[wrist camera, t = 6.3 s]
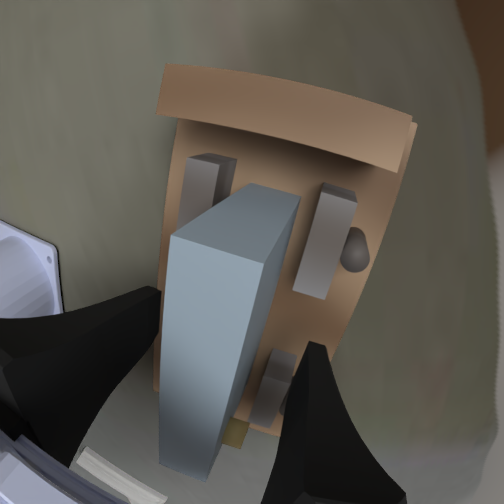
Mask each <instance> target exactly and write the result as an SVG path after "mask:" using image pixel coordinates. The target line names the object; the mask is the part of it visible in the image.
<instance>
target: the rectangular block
mask: <svg viewBox="0 0 504 504" xmlns="http://www.w3.org/2000/svg"><path fill="white" fill-rule="evenodd" d="M300 200H301V196H299V195H295V194H292V193H288V192H284V191H281V190H277V189H274V188H270V187H266V186H263V185H259V184H255V183H250V184H248V185H246V186H245V187H243V188H242V189H240V190H238V191H237V192H235V193H234V194H232V195H231V196H229V197H227V198H226V199H224V200H223V201H221V202H220V203H218V204H217V205H215V206H213V207H212V208H210V209H209V210H207V211H206V212H204V213H203V214H201V215H200V216H198V217H197V218H195V219H194V220H192V221H191V222H189V223H188V224H186V225H185V226H183V227H182V228H180V229H179V230H177V231H176V232H174V233H173V234H171V237H170V246H169V255H168V265H167V275H166V286H165V298H164V311H163V325H162V341H161V361H160V390H159V464H161V465H164V466H166V467H168V468H171V469H173V470H175V471H178V472H180V473H183V474H185V475H188V476H190V477H193V478H195V479H198V480H201V481H203V482H206V480H207V478H208V475H209V473H210V471H211V469H212V466H213V464H214V462H215V459H216V457H217V455H218V452H219V450H220V448H221V446H222V443H223V444H226V445H229V446H232V447H235V448H238V449H241V446H242V443H243V441H244V438H245V436H246V433H247V430H248V427H249V425H250V423H249V422H245V421H242V420H239V419H237V418H234V415H235V412H236V410H237V407H238V405H239V402H240V400H241V398H242V395H243V393H244V390H245V388H246V385H247V383H248V380H249V377H250V373H251V370H252V367H253V364H254V361H255V357H256V354H257V351H258V347H259V344H260V341H261V338H262V334H263V331H264V328H265V324H266V321H267V318H268V314H269V311H270V307H271V304H272V301H273V297H274V294H275V290H276V287H277V283H278V280H279V276H280V273H281V269H282V266H283V262H284V259H285V255H286V251H287V248H288V244H289V241H290V237H291V233H292V230H293V226H294V222H295V219H296V215H297V211H298V208H299V204H300Z"/></svg>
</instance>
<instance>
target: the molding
mask: <svg viewBox="0 0 504 504" xmlns="http://www.w3.org/2000/svg"><path fill="white" fill-rule="evenodd" d="M76 463H77V464H79V465H80V466H82V467H83V468H84V469H86V470H87V471H89V472H90V473H91V474H93V475H94V476H96V477H97V478H99V479H100V480H102V481H103V482H105V483H106V484H108V485H109V486H111V487H112V488H114V489H115V490H117V491H119V492H120V493H122V494H124V495H125V496H127V498H128V499H129V501H130V503H131V504H163V503H164V502H166V500H167V498H168V497H166V496H164V495H162V494H160V493H158V492H157V491H155V490H153V489H151V488H150V487H148V486H146V485H144V484H143V483H141V482H139V481H138V480H136V479H135V478H133V477H131V476H130V475H128V474H127V473H125V472H123V471H122V470H120V469H119V468H117V467H116V466H114V465H113V464H111V463H110V462H108V461H107V460H105V459H104V458H103V457H101V456H100V455H98V454H97V453H96V452H94V451H93V450H91V449H90V448H89V447H87V446H86V448H85V449H84V450H83V452H82V454H81V455H80V457H79V459H78V460H77V462H76Z"/></svg>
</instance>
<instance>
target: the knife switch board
mask: <svg viewBox="0 0 504 504" xmlns="http://www.w3.org/2000/svg"><path fill="white" fill-rule="evenodd" d="M156 114H157V115H164V116H171V117H177V118H178V123H177V128H176V134H175V140H174V146H173V152H172V159H171V165H170V172H169V179H168V186H167V194H166V201H165V209H164V218H163V227H162V236H161V246H160V256H159V268H158V280H157V289H158V290H161V291H162V294H161V307H160V323H159V333H158V334H157V336H156V337H155V339H154V359H153V391H156V392H158V393H159V390H160V361H161V341H162V325H163V311H164V298H165V286H166V275H167V265H168V255H169V246H170V237H171V234H173V233H174V232H176V231H177V230H179V229H180V228H182V227H183V226H185V225H186V224H188V223H189V222H191V221H192V220H194V219H195V218H197V217H198V216H200V215H201V214H203V213H204V212H206V211H207V210H209V209H210V208H212V207H213V206H215V205H217V204H218V203H220V202H221V201H223V200H224V199H226V198H227V197H229V196H231V195H232V194H234V193H235V192H237V191H238V190H240V189H242V188H243V187H245V186H246V185H248V184H250V183H255V184H259V185H263V186H266V187H270V188H274V189H277V190H281V191H284V192H288V193H292V194H295V195H299V196H301V200H300V204H299V208H298V211H297V215H296V219H295V222H294V226H293V230H292V233H291V237H290V241H289V244H288V248H287V251H286V255H285V259H284V262H283V266H282V269H281V273H280V276H279V280H278V283H277V287H276V290H275V294H274V297H273V301H272V304H271V307H270V311H269V314H268V318H267V321H266V324H265V328H264V331H263V334H262V338H261V341H260V344H259V347H258V351H257V354H256V357H255V361H254V364H253V367H252V370H251V373H250V377H249V380H248V383H247V385H246V388H245V390H244V393H243V395H242V398H241V400H240V402H239V405H238V407H237V410H236V412H235V415H234V418H237V419H239V420H242V421H245V422H249V423H250V425H249V428H252V429H255V430H258V431H262V432H265V433H268V434H272V435H275V436H279V437H280V434H281V429H282V423H283V417H284V412H285V406H286V401H287V397H288V394H289V390H290V387H291V383H292V380H293V377H294V375H295V373H296V370H297V368H298V366H299V363H300V361H301V359H302V356H303V354H304V351H305V349H306V347H307V344H308V342H309V341H312V342H315V343H319V344H322V345H325V346H326V348H327V352H328V357H329V361H331V359H332V357H333V355H334V353H335V351H336V349H337V347H338V345H339V342H340V340H341V338H342V336H343V334H344V332H345V329H346V327H347V325H348V323H349V320H350V318H351V316H352V314H353V311H354V309H355V307H356V304H357V302H358V300H359V297H360V295H361V292H362V290H363V288H364V285H365V283H366V280H367V278H368V275H369V273H370V270H371V268H372V265H373V262H374V260H375V257H376V255H377V252H378V249H379V247H380V244H381V241H382V238H383V236H384V233H385V230H386V227H387V224H388V221H389V219H390V216H391V213H392V210H393V207H394V204H395V201H396V197H397V194H398V191H399V188H400V185H401V182H402V178H403V175H404V172H405V168H406V165H407V161H408V158H409V154H410V151H411V147H412V143H413V140H414V136H415V132H416V128H417V124H416V123H413V122H411V120H412V116H411V115H408V114H405V113H403V112H400V111H397V110H394V109H391V108H388V107H385V106H382V105H379V104H376V103H373V102H370V101H367V100H364V99H360V98H357V97H354V96H350V95H347V94H343V93H340V92H336V91H332V90H328V89H324V88H321V87H316V86H312V85H308V84H304V83H299V82H295V81H290V80H285V79H281V78H275V77H270V76H265V75H259V74H253V73H247V72H241V71H234V70H227V69H219V68H211V67H202V66H191V65H179V64H165V69H164V74H163V78H162V83H161V88H160V94H159V99H158V104H157V110H156Z"/></svg>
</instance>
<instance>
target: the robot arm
mask: <svg viewBox="0 0 504 504" xmlns="http://www.w3.org/2000/svg"><path fill="white" fill-rule="evenodd" d="M161 294H162V291H161V290H158V289H156V288H153V287H150V286H145V287H142V288H139V289H137V290H134V291H131V292H129V293H126V294H123V295H121V296H118V297H115V298H112V299H110V300H107V301H104V302H101V303H98V304H95V305H91V306H88V307H85V308H82V309H78V310H74V311H70V312H65V313H63V307H62V300H61V291H60V282H59V271H58V259H57V250H56V248H55V247H54V246H53V245H52V244H50V243H48V242H45V241H43V240H41V239H39V238H37V237H34V236H32V235H30V234H28V233H26V232H24V231H22V230H19V229H17V228H15V227H13V226H11V225H9V224H7V223H5V222H3V221H1V220H0V504H83V503H84V504H128V503H126V502H124V501H122V500H121V499H119V498H117V497H115V496H113V495H111V494H109V493H108V492H106V491H104V490H102V489H101V488H99V487H97V486H95V485H94V484H92V483H90V482H89V481H87V480H86V479H84V478H82V477H81V476H79V475H78V474H76V473H74V472H73V471H71V470H70V469H69V466H70V464H71V462H72V460H73V458H74V456H75V454H76V452H77V450H78V447H79V446H80V444H81V442H82V440H83V438H84V436H85V434H86V433H87V431H88V429H89V427H90V426H91V424H92V422H93V421H94V419H95V417H96V416H97V414H98V412H99V411H100V409H101V408H102V406H103V405H104V403H105V401H106V400H107V398H108V397H109V395H110V394H111V393H112V391H113V390H114V389H115V388H116V386H117V385H118V384H119V383H120V382H121V381H122V379H123V378H124V377H125V376H126V375H127V374H128V372H129V371H130V370H131V369H132V368H133V367H134V365H135V364H136V363H137V362H138V361H139V360H140V358H141V357H142V356H143V355H144V354H145V352H146V351H147V350H148V348H149V347H150V345H151V344H152V342H153V341H154V339H155V337H156V336H157V334H158V333H159V323H160V307H161ZM37 471H38V472H39V473H38V472H37ZM42 475H43V476H42ZM46 478H47V479H46ZM49 480H50V481H51V482H50V481H49ZM53 483H54V484H53ZM56 485H57V486H56ZM60 488H61V489H60ZM63 490H64V491H63ZM66 492H67V493H66ZM69 494H70V495H69ZM72 496H73V497H72ZM75 498H76V499H75ZM80 501H81V502H80ZM261 504H407V499H406V493H405V492H404V491H403V490H402V489H401V487H400V486H399V485H398V484H397V483H396V482H395V481H394V480H393V479H392V478H391V477H390V476H389V475H388V474H387V473H386V472H385V470H384V469H383V468H382V467H381V466H380V464H379V463H378V462H377V461H376V459H375V458H374V457H373V455H372V454H371V452H370V451H369V449H368V448H367V446H366V445H365V443H364V442H363V440H362V439H361V437H360V435H359V434H358V432H357V430H356V428H355V426H354V424H353V423H352V421H351V419H350V416H349V414H348V412H347V410H346V408H345V405H344V403H343V400H342V398H341V395H340V393H339V390H338V387H337V384H336V381H335V378H334V375H333V371H332V368H331V364H330V361H329V357H328V352H327V348H326V346H325V345H322V344H319V343H315V342H312V341H309V342H308V344H307V347H306V349H305V351H304V354H303V356H302V359H301V361H300V363H299V366H298V368H297V370H296V373H295V375H294V377H293V380H292V383H291V387H290V390H289V394H288V397H287V401H286V406H285V412H284V417H283V423H282V429H281V434H280V440H279V445H278V451H277V455H276V459H275V463H274V466H273V469H272V472H271V475H270V478H269V481H268V484H267V487H266V490H265V493H264V496H263V499H262V502H261Z"/></svg>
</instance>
